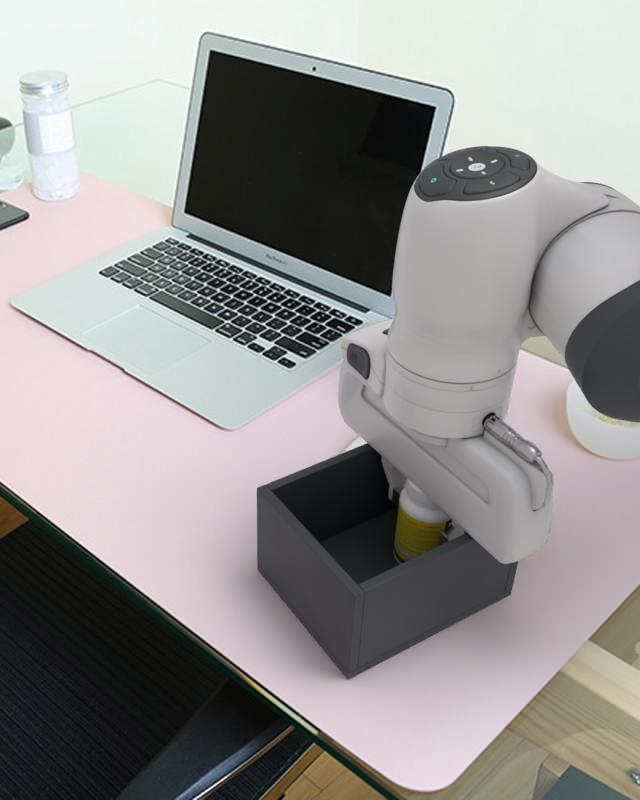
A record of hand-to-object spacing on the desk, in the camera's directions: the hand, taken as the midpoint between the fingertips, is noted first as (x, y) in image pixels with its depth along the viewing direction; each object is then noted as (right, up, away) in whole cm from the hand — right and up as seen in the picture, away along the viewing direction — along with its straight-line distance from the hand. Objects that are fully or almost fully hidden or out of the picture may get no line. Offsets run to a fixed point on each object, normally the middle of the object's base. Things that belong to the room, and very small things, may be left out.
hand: (426, 525), depth 75 cm
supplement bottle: (0, -3, +2) cm, 4 cm away
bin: (-3, -5, +1) cm, 6 cm away
